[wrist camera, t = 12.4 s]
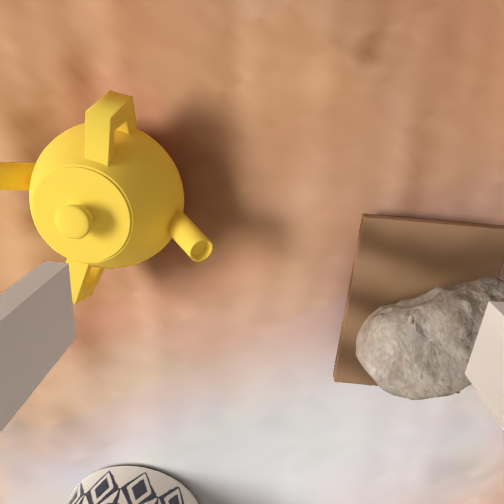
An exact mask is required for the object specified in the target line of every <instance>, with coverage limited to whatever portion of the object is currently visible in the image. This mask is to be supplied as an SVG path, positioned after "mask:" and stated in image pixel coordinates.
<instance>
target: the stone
mask: <svg viewBox="0 0 504 504" xmlns="http://www.w3.org/2000/svg"><path fill="white" fill-rule="evenodd" d="M489 301H494V302H504V281H502V280H500V279H496V278H493V277H482V278H479V279H477V280H475V281H472V282H464V283H459V284H455V285H452V286H447V287H440V286H437V287H435V288H434V289H432V290H431V291H429V292H426V293H423V294H420V295H418V296H416V297H414V298H412V299H403V300H401V301H399V302H398V303H395V304H389V305H382V306H381V307H379V308H378V309H377V310H376V311H374V312H373V313H372V314H371V315H370V316H368V318H367V319H366V321H365V322H364V323H363V325H362V326H361V329H360V331H359V333H358V336H357V339H356V356H357V358H358V360H359V362H360V363H361V365H362V366H363V368H364V369H365V370H366V371H367V372H368V374H369V375H370V376H371V377H372V378H373V380H374V381H375V382H376V383H377V384H378V386H379V387H381V388H382V389H383V390H385V391H386V392H388V393H390V394H392V395H395V396H399V397H403V398H408V399H411V400H421V399H428V398H433V397H442V396H449V395H452V394H455V393H457V392H459V391H461V390H462V389H464V388H465V387H467V386H468V385H471V382H470V381H469V379H468V378H467V376H466V375H465V371H466V368H467V365H468V362H469V359H470V356H471V353H472V350H473V347H474V344H475V341H476V338H477V335H478V332H479V329H480V326H481V323H482V320H483V317H484V314H485V311H486V308H487V305H488V302H489Z"/></svg>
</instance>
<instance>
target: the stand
mask: <svg viewBox="0 0 504 504" xmlns="http://www.w3.org/2000/svg"><path fill="white" fill-rule="evenodd" d="M503 260H504V226H500V225H489V224H477V223H466V222H454V221H443V220H431V219H420V218H408V217H396V216H385V215H373V214H362V220H361V225H360V230H359V236H358V241H357V247H356V252H355V258H354V263H353V268H352V274H351V279H350V285H349V290H348V296H347V301H346V306H345V312H344V317H343V323H342V328H341V333H340V339H339V344H338V350H337V355H336V361H335V366H334V371H333V377H334V381H335V382H343V383H354V384H364V385H375V386H378V384H377V383H376V382H375V381H374V380H373V378H372V377H371V376H370V375H369V374H368V372H367V371H366V370H365V369H364V368H363V366H362V365H361V363H360V362H359V360H358V358H357V356H356V339H357V336H358V333H359V331H360V329H361V326H362V325H363V323H364V322H365V321H366V319H367V318H368V316H370V315H371V314H372V313H373V312H374V311H376V310H377V309H378V308H379V307H381V306H382V305H389V304H395V303H398V302H399V301H401V300H403V299H412V298H414V297H416V296H418V295H420V294H423V293H426V292H429V291H431V290H432V289H434V288H435V287H437V286H440V287H447V286H452V285H455V284H459V283H464V282H472V281H475V280H477V279H479V278H482V277H493V278H496V279H497V278H498V275H499V272H500V269H501V266H502V263H503ZM459 392H460V391H459ZM459 392H457V393H459Z"/></svg>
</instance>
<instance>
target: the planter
mask: <svg viewBox="0 0 504 504" xmlns="http://www.w3.org/2000/svg"><path fill="white" fill-rule="evenodd" d="M67 504H198V502H197V501H196V499H195V497H194V496H193V495H192V494H191V492H190V491H189V490H188V489H187V488H186V487H185V486H183V485H182V484H181V483H179V482H178V481H177V480H175V479H174V478H172V477H170V476H168V475H166V474H164V473H161V472H159V471H156V470H152V469H149V468H145V467H138V466H114V467H109V468H104V469H101V470H98V471H96V472H93V473H92V474H90V475H88V476H87V477H85V478H84V479H83V480H82V481H81V482H79V484H78V485H77V486H76V487H75V489H74V491H73V493H72V495H71V497H70V499H69V500H68V502H67Z"/></svg>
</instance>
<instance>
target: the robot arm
mask: <svg viewBox="0 0 504 504" xmlns="http://www.w3.org/2000/svg"><path fill="white" fill-rule="evenodd" d="M75 338H76V333H75V323H74V313H73V303H72V293H71V283H70V273H69V263H59V262H48V261H44V262H43V263H41V264H40V265H39V266H37V267H36V268H35V269H33V270H32V271H31V272H29V273H28V274H27V275H25V276H24V277H23V278H21V279H20V280H19V281H17V282H16V283H15V284H13V285H12V286H11V287H9V288H8V289H7V290H5V291H4V292H2V293H1V294H0V432H1V431H2V430H3V429H4V427H5V426H6V425H7V424H8V422H9V421H10V420H11V419H12V417H13V416H14V415H15V414H16V412H17V411H18V410H19V409H20V407H21V406H22V405H23V404H24V402H25V401H26V400H27V399H28V397H29V396H30V395H31V394H32V392H33V391H34V390H35V389H36V387H37V386H38V385H39V384H40V382H41V381H42V380H43V378H44V377H45V376H46V375H47V373H48V372H49V371H50V370H51V368H52V367H53V366H54V365H55V363H56V362H57V361H58V360H59V358H60V357H61V356H62V355H63V353H64V352H65V351H66V350H67V348H68V347H69V346H70V345H71V343H72V342H73V341H74V340H75ZM465 375H466V376H467V378H468V379H469V381H470V382H471V384H472V385H473V387H474V388H475V390H476V391H477V393H478V394H479V396H480V397H481V399H482V400H483V402H484V403H485V405H486V406H487V407H488V409H489V410H490V412H491V413H492V415H493V416H494V418H495V419H496V421H497V422H498V424H499V425H500V427H501V428H502V430H503V431H504V302H494V301H489V302H488V305H487V308H486V311H485V314H484V317H483V320H482V323H481V326H480V329H479V332H478V335H477V338H476V341H475V344H474V347H473V350H472V353H471V356H470V359H469V362H468V365H467V368H466V371H465Z"/></svg>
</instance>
